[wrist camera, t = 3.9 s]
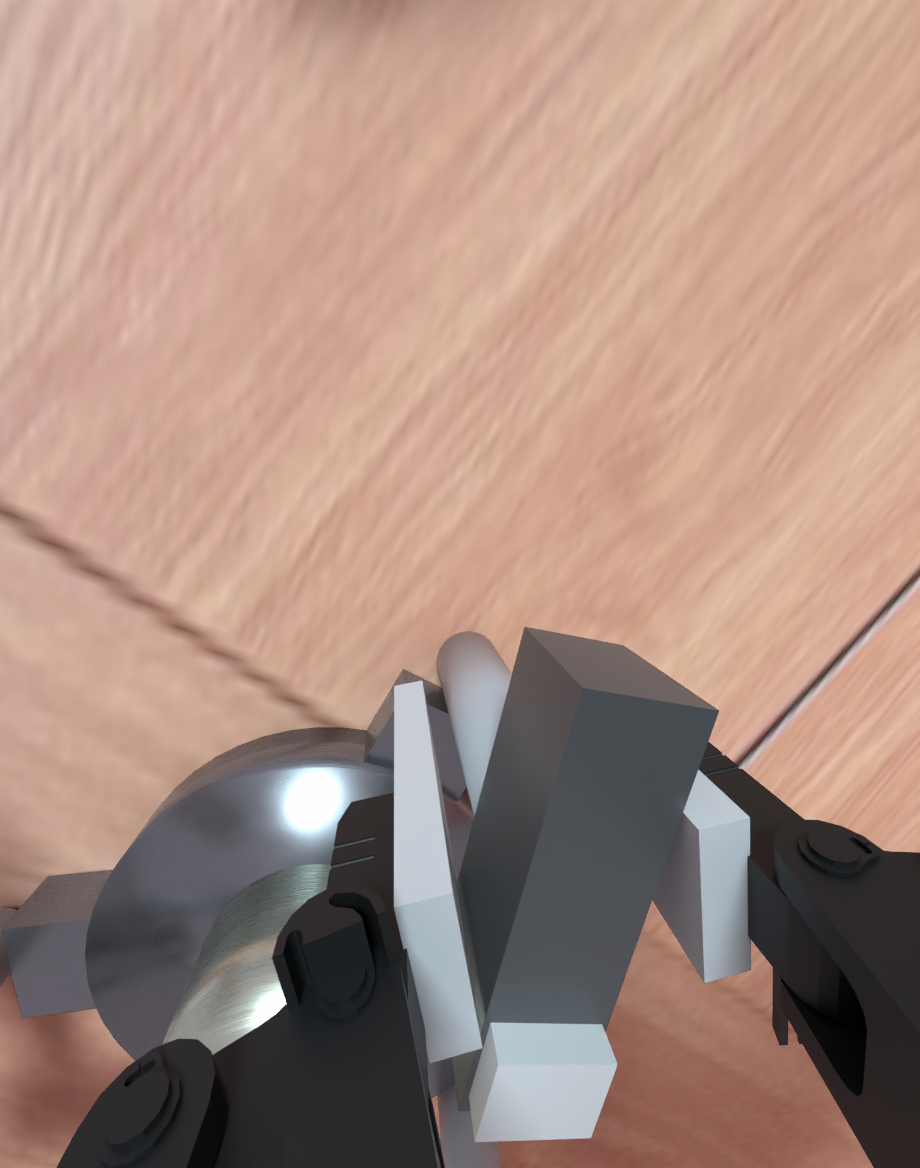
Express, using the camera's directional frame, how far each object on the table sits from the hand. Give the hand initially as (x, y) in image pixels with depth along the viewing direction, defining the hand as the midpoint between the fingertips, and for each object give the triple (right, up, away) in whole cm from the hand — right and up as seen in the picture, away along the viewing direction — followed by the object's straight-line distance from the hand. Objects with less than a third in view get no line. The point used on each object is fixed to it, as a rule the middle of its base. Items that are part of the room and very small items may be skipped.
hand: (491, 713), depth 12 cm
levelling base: (-6, -10, +6) cm, 12 cm away
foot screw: (-1, +1, +4) cm, 4 cm away
